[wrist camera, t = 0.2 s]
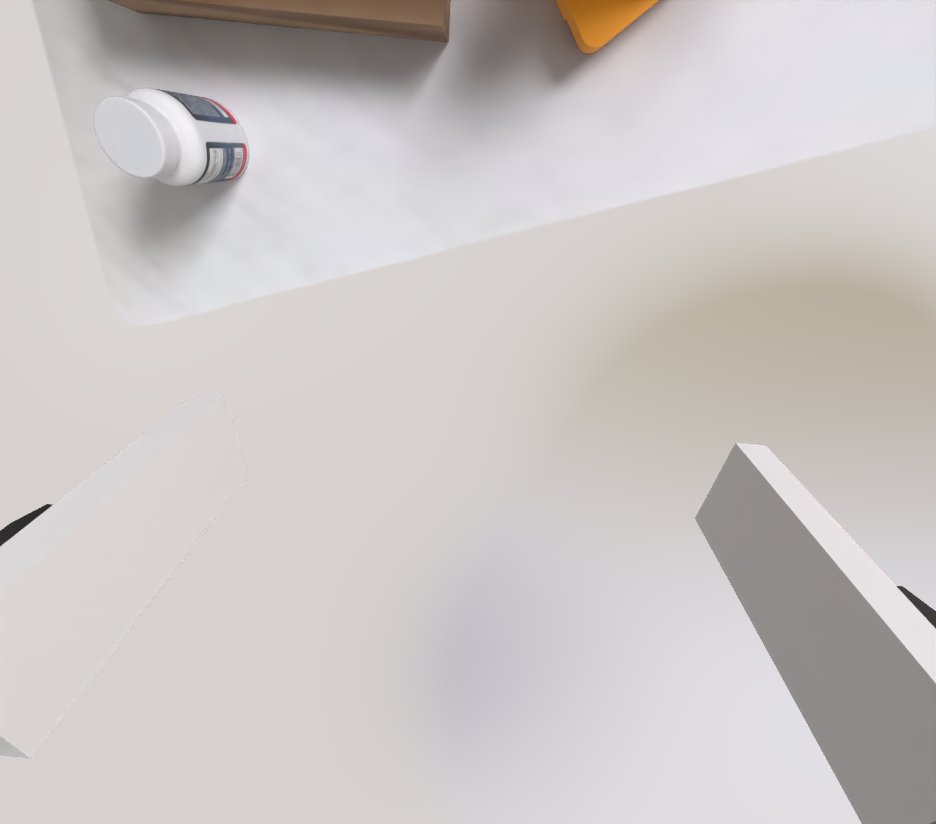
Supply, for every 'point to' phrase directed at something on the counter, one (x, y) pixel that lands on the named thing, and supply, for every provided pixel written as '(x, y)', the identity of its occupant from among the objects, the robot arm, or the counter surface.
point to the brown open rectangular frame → (318, 14)
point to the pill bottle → (171, 137)
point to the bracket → (600, 19)
